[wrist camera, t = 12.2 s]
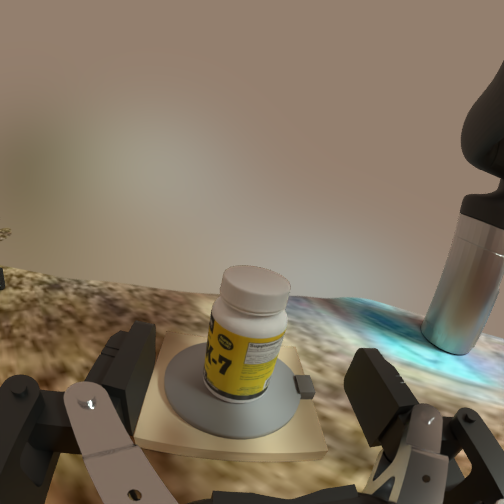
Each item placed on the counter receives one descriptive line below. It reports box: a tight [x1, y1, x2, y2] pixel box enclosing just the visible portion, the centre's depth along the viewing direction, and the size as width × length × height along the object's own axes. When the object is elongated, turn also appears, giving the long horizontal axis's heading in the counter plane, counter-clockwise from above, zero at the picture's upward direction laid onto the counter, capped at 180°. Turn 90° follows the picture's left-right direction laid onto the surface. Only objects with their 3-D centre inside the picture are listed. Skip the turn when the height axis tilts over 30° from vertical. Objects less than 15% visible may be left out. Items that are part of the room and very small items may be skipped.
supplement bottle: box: [203, 265, 291, 403], centre depth 18 cm, size 5×5×8 cm
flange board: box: [134, 331, 328, 462], centre depth 19 cm, size 12×12×2 cm
